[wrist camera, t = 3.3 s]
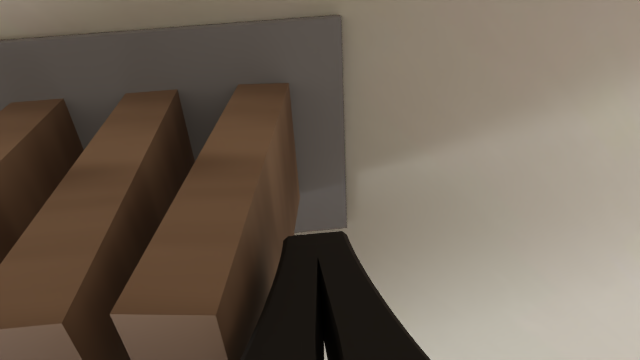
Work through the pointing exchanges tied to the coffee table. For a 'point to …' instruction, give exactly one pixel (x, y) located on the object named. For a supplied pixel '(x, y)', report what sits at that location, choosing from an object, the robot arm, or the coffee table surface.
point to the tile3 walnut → (32, 161)
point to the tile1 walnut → (218, 238)
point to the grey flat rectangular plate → (203, 87)
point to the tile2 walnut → (94, 234)
